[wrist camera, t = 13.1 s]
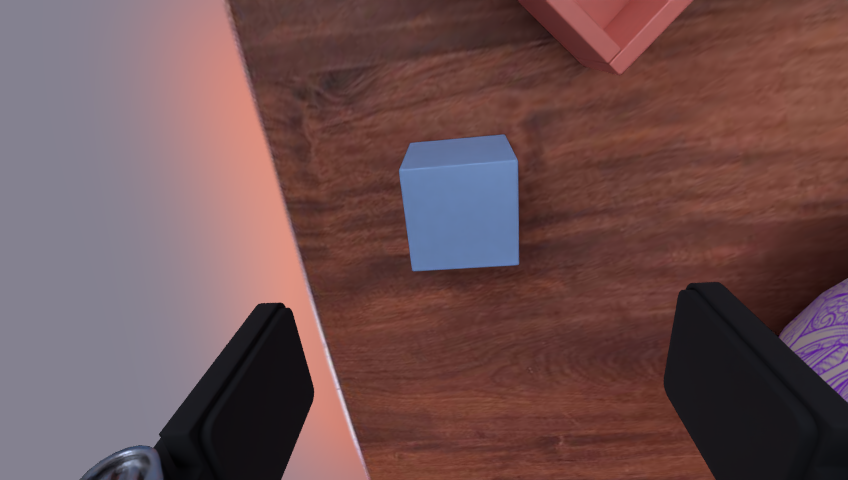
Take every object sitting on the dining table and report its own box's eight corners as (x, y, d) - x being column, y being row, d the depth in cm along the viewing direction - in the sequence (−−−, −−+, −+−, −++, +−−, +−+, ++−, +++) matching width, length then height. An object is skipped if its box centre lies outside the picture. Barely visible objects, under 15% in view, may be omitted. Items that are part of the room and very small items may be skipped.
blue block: (419, 228, 22) (412, 271, 18) (409, 142, 20) (398, 169, 16) (507, 222, 22) (519, 265, 18) (505, 133, 20) (518, 159, 16)
